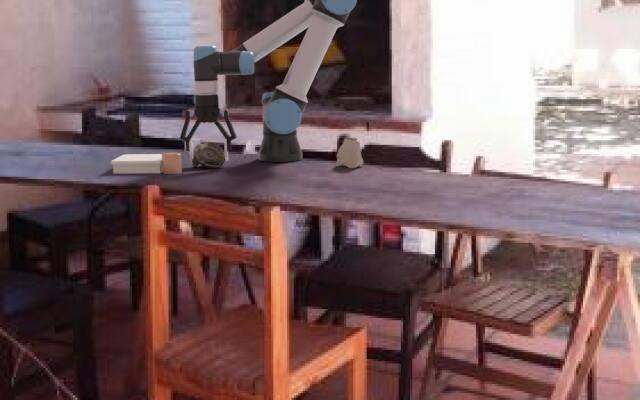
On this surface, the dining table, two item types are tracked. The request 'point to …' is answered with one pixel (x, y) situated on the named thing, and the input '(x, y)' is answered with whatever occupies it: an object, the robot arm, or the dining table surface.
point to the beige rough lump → (350, 153)
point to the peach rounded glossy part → (171, 163)
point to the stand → (138, 163)
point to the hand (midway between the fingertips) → (209, 161)
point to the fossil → (208, 155)
